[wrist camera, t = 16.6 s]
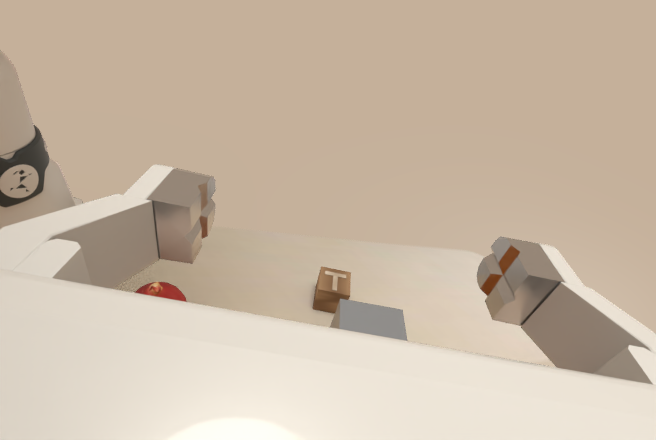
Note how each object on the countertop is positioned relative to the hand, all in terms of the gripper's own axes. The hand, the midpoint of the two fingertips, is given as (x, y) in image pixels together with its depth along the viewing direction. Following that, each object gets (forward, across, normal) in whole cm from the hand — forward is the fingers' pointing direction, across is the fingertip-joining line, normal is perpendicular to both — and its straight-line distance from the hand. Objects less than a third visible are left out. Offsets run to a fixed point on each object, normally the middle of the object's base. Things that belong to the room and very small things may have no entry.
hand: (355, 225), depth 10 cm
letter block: (+23, -4, +30) cm, 38 cm away
